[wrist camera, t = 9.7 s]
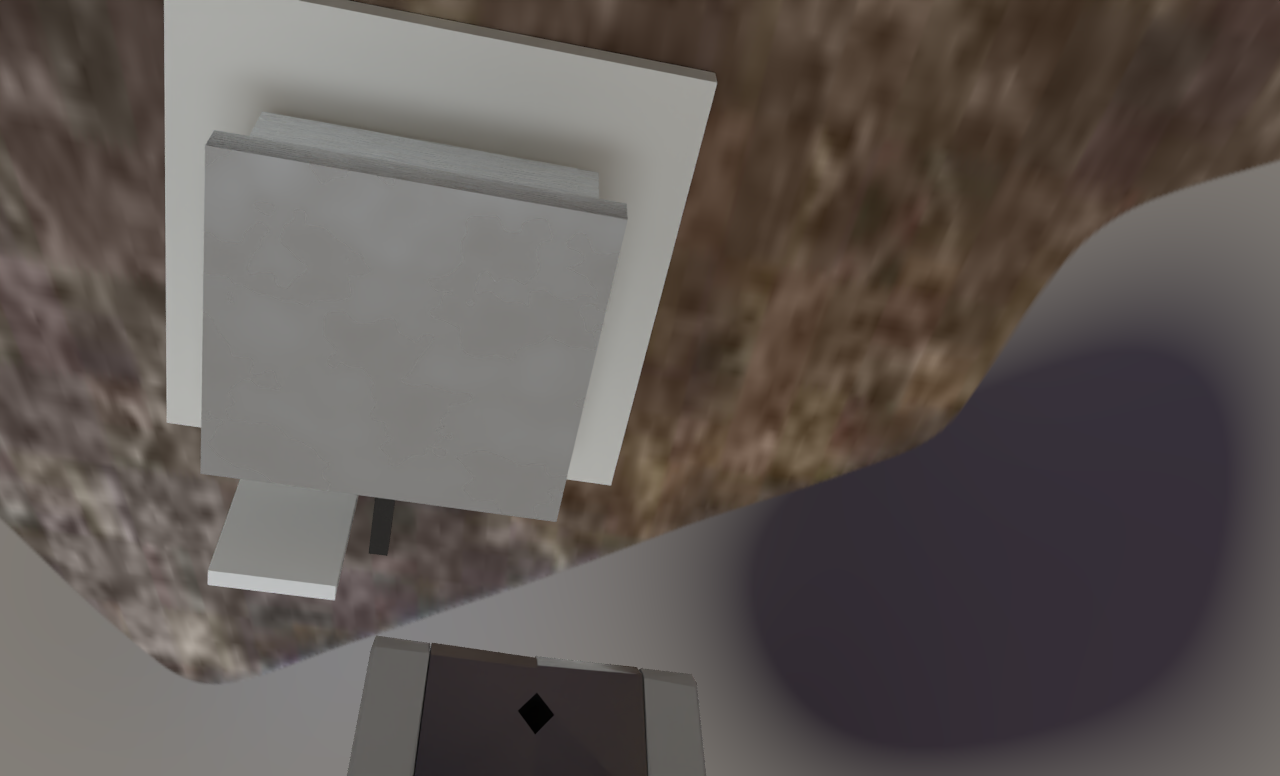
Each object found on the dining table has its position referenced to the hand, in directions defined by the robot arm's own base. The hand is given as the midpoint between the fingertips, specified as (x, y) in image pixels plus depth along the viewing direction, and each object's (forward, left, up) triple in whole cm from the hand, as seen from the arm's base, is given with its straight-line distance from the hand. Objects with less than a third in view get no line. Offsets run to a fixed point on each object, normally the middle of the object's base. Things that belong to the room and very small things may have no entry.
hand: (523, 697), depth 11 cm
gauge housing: (+3, +17, -37) cm, 41 cm away
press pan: (+3, +19, -35) cm, 40 cm away
